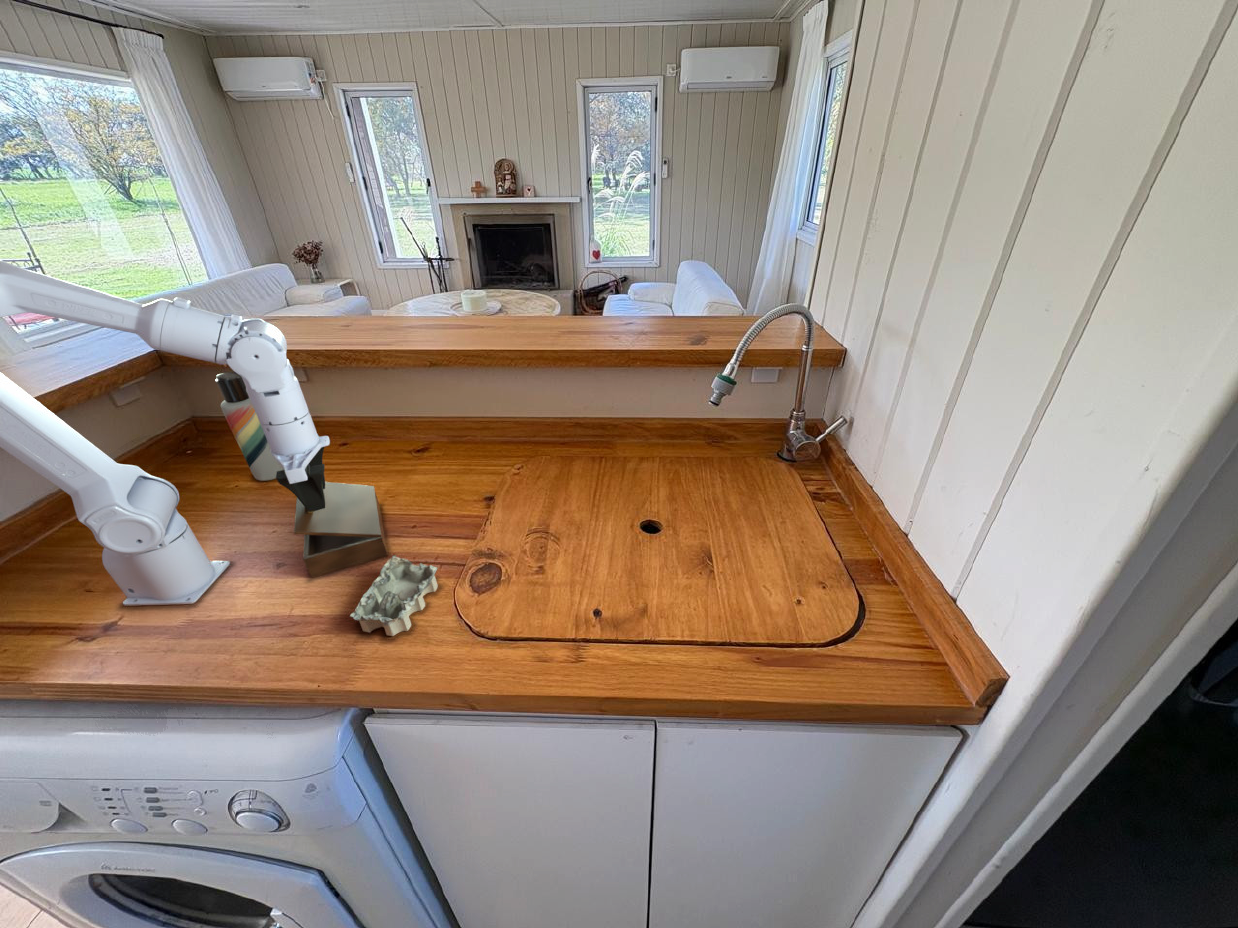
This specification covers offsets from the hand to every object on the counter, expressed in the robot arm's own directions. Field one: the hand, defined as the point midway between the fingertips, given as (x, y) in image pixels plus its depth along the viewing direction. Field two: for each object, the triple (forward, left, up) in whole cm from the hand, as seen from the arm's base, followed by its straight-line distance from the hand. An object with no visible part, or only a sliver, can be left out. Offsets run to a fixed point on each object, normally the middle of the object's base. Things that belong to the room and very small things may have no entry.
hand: (317, 498), depth 73 cm
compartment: (+2, +1, -8) cm, 9 cm away
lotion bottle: (-21, +21, -9) cm, 31 cm away
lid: (+2, +1, -3) cm, 3 cm away
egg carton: (+15, -13, -9) cm, 22 cm away
